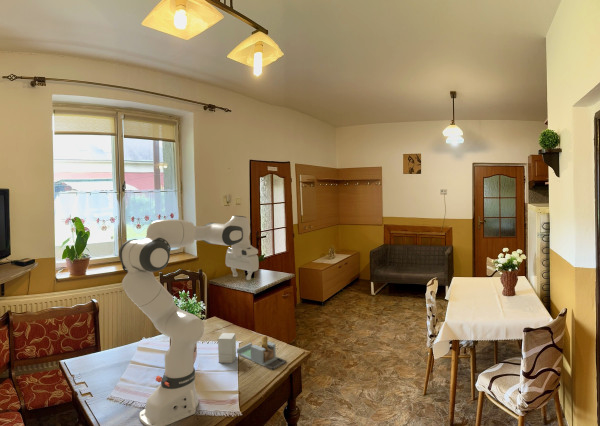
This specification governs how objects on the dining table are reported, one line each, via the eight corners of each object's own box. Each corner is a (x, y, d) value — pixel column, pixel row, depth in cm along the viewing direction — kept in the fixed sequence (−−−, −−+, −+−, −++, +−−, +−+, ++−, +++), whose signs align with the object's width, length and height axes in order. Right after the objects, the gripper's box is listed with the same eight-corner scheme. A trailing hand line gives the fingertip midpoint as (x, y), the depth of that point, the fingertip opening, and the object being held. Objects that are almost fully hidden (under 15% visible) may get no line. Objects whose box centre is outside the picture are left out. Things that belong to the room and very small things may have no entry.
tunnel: (272, 370, 173) (272, 355, 172) (236, 354, 190) (236, 340, 189) (286, 362, 180) (286, 348, 180) (250, 347, 197) (250, 334, 197)
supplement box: (236, 356, 187) (236, 333, 186) (232, 363, 180) (232, 338, 179) (222, 355, 188) (222, 332, 187) (218, 362, 180) (217, 338, 179)
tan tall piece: (265, 361, 179) (265, 340, 178) (255, 357, 183) (255, 336, 182) (273, 357, 183) (273, 336, 183) (264, 353, 188) (263, 333, 187)
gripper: (221, 248, 174) (222, 276, 175) (250, 252, 160) (251, 282, 162) (232, 246, 178) (232, 273, 180) (260, 250, 165) (261, 279, 166)
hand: (241, 277), depth 170 cm, fingers open, 8 cm apart
